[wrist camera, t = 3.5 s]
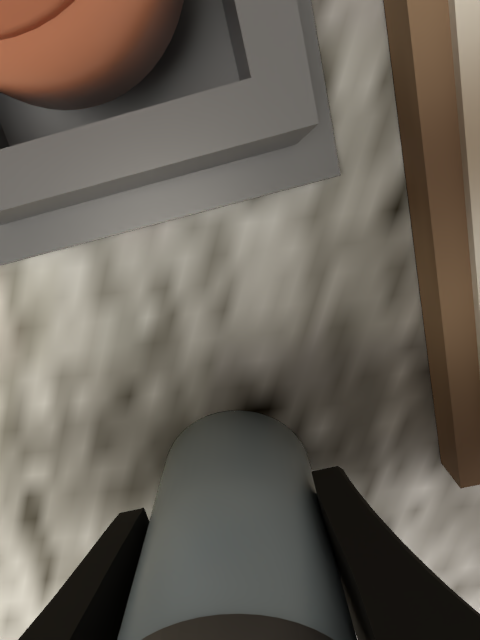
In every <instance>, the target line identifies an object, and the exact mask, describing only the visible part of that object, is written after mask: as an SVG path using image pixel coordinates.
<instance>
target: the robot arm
mask: <svg viewBox="0 0 480 640" xmlns="http://www.w3.org/2000/svg"><path fill="white" fill-rule="evenodd" d="M312 476H313V481H314V485H315V489H316V493H317V497H318V501H319V505H320V508H321V512H322V516H323V520H324V523H325V527H326V531H327V534H328V536H329V539H330V543H331V546H332V549H333V553H334V556H335V559H336V563H337V567H338V570H339V574H340V578H341V582H342V585H343V589H344V593H345V596H346V600H347V604H348V608H349V611H350V615H351V619H352V622H353V626H354V630H355V632H356V635H357V638H358V640H480V614H479V613H478V612H477V611H476V610H474V609H473V608H472V607H471V606H470V605H469V604H468V603H466V602H465V601H464V600H463V599H462V598H461V597H459V596H458V595H457V594H456V593H455V592H454V591H453V590H452V589H450V588H449V587H448V586H447V585H446V584H445V583H444V582H443V581H442V580H441V579H440V578H439V577H437V576H436V575H435V574H434V573H433V572H432V571H431V570H430V569H429V568H428V567H427V566H426V565H425V564H424V563H423V562H422V561H421V560H420V559H419V558H418V557H417V556H416V555H415V554H414V553H413V552H412V551H411V550H410V549H409V548H408V547H407V546H406V545H405V544H404V543H403V542H402V541H401V540H400V539H399V538H398V537H397V536H396V535H395V534H394V532H393V531H392V530H391V529H390V528H389V527H388V526H387V525H386V524H385V523H384V522H383V520H382V519H381V518H380V517H379V516H378V515H377V514H376V513H375V511H374V510H373V509H372V508H371V507H370V506H369V504H368V503H367V502H366V501H365V499H364V498H363V497H362V496H361V494H360V493H359V492H358V491H357V489H356V488H355V487H354V485H353V484H352V483H351V481H350V480H349V478H348V477H347V475H346V474H345V472H344V470H343V469H341V468H340V467H338V466H336V467H331V468H327V469H322V470H317V471H313V472H312ZM148 525H149V520H148V517H147V515H146V512H145V510H144V508H141V509H137V510H132V511H127V512H123V513H119V515H118V516H117V517H116V518H115V519H114V521H113V522H112V523H111V524H110V526H109V527H108V528H107V529H106V531H105V532H104V533H103V535H102V536H101V537H100V538H99V540H98V541H97V542H96V544H95V545H94V546H93V548H92V549H91V550H90V551H89V553H88V554H87V555H86V557H85V558H84V559H83V561H82V562H81V563H80V564H79V566H78V567H77V568H76V570H75V571H74V572H73V573H72V575H71V576H70V577H69V579H68V580H67V581H66V582H65V584H64V585H63V586H62V587H61V589H60V590H59V591H58V593H57V594H56V595H55V596H54V598H53V599H52V600H51V601H50V602H49V604H48V605H47V606H46V607H45V608H44V610H43V611H42V612H41V613H40V614H39V616H38V617H37V618H36V619H35V620H34V622H33V623H32V624H31V625H30V626H29V628H28V629H27V630H26V631H25V632H24V633H23V635H22V636H21V637H20V638H19V639H18V640H117V638H118V634H119V631H120V627H121V624H122V620H123V616H124V613H125V609H126V605H127V602H128V598H129V594H130V591H131V587H132V583H133V580H134V576H135V572H136V569H137V565H138V561H139V558H140V554H141V551H142V547H143V543H144V540H145V536H146V532H147V529H148Z"/></svg>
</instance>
